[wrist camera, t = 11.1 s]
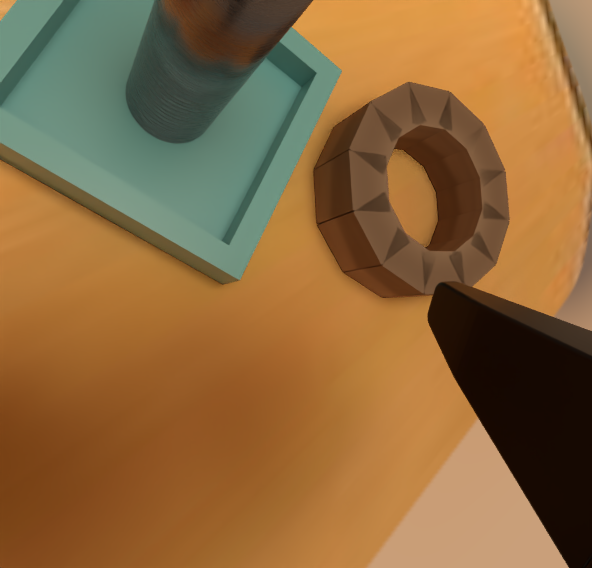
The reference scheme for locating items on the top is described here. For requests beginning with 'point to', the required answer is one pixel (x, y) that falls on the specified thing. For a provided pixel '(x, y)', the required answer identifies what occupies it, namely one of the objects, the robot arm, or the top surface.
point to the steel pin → (201, 60)
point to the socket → (444, 176)
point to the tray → (144, 147)
